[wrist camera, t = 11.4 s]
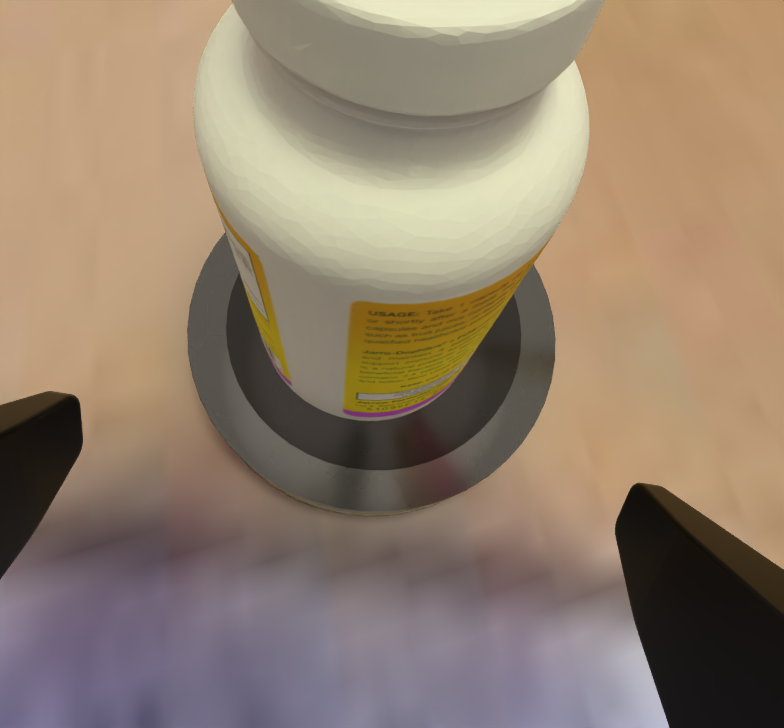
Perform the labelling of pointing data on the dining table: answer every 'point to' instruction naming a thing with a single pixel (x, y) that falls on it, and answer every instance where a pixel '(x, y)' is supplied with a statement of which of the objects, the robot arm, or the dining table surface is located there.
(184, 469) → the dining table surface
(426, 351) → the supplement bottle
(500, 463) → the dark grey bowl
